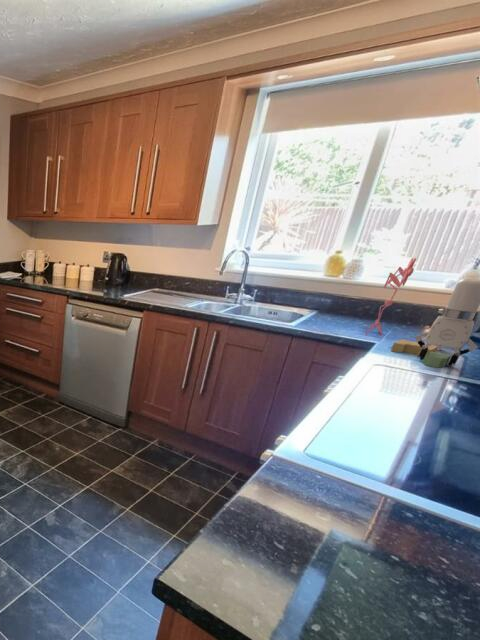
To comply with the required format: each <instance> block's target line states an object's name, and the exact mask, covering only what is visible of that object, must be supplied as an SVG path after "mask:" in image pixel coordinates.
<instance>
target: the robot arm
mask: <svg viewBox="0 0 480 640" xmlns="http://www.w3.org/2000/svg"><path fill="white" fill-rule="evenodd" d="M479 308H480V279H474V278H473V279H472V278H463V279H460V280H459V281H458V282H457V283H456V284H455V287H454V289H453V291H452V294H451V296H450V297H449V300H448V301H447V304H446V306H445V307H444V308H439V309H438V310H437V314H441V315H439V316H437V318H435V320H434V321H433V323H432V325H431V326H430V328H429V330H428V331H427V332H424V333H422V334H418V335H415V336H414V339H415V342H418V344H419V345H420V347H421V349H422V350H421V352H420V354H419V361H423V360H424V358H425V355H426V353H427V351H428V347H429V346H430V345H431V344H434V345H439V346H443V347H445V348H451V349H453V350H454V353H453V355H452V356H451V358H450V360H449V362H448V364H447V366H448V367H451V366H453V365H455V364H456V363H457V361H458V359H459V357H460V356H463V355H465V354H468V353H470V352H472V351H476V350H477V349H478V348H479V347H478V346H477V345H476V344H475V342H473V341H472V339H471V338H470V337H471V335H472V332H473V329H474V325H475V320H473V319H474V317H475V316H476V314H477V312H478V310H479ZM422 338H424V340H423V339H422ZM466 345H468V346H469V347H468V348H465V346H466ZM463 348H465V349H463Z"/></svg>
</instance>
